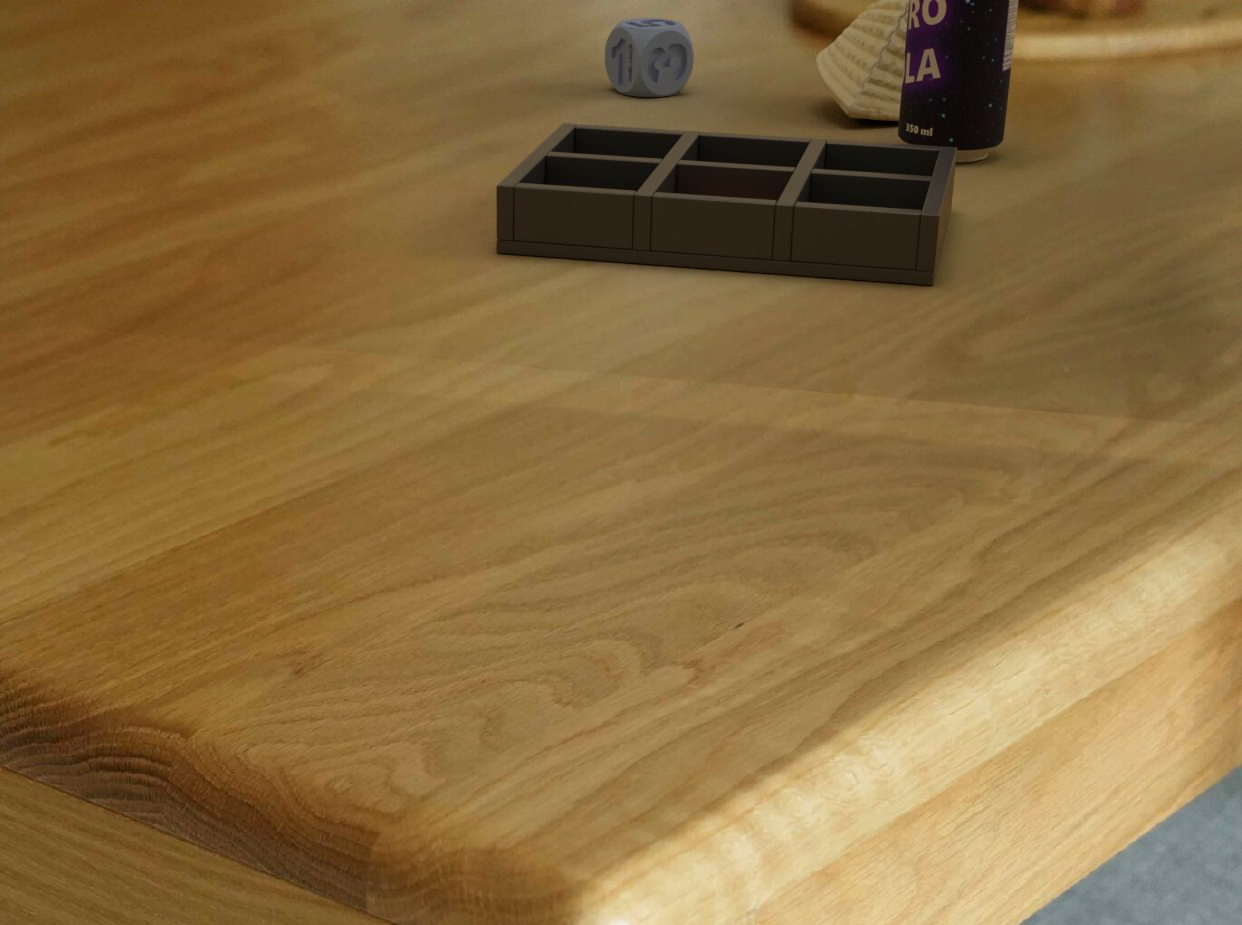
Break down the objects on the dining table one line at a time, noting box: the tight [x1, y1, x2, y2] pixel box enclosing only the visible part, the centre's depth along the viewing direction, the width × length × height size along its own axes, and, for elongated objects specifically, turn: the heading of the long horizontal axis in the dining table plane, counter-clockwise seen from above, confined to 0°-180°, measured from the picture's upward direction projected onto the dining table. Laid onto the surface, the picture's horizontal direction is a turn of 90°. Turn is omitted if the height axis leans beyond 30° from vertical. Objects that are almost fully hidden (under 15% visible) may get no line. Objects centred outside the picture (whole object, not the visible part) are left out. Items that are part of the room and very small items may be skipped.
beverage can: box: [897, 0, 1019, 163], centre depth 110 cm, size 6×6×12 cm
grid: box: [495, 122, 957, 286], centre depth 97 cm, size 20×13×3 cm
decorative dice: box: [604, 17, 695, 98], centre depth 126 cm, size 4×4×4 cm
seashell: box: [815, 0, 909, 122], centre depth 121 cm, size 8×8×8 cm
